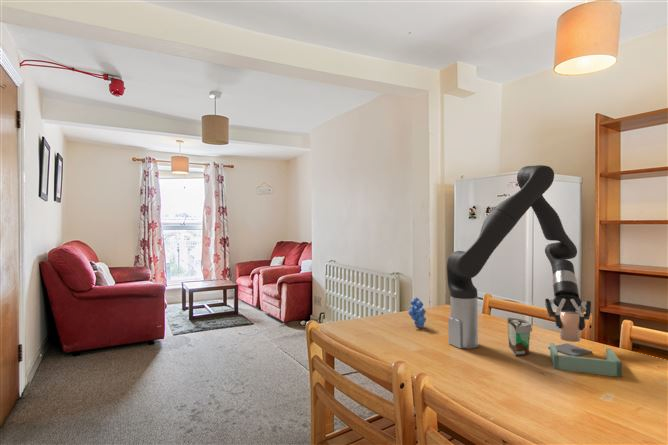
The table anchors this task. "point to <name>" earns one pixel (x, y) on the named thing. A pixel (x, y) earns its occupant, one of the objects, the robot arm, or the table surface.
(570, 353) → the mat
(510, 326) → the food container
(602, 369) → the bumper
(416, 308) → the grapes
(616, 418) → the table surface
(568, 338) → the brown cylinder
